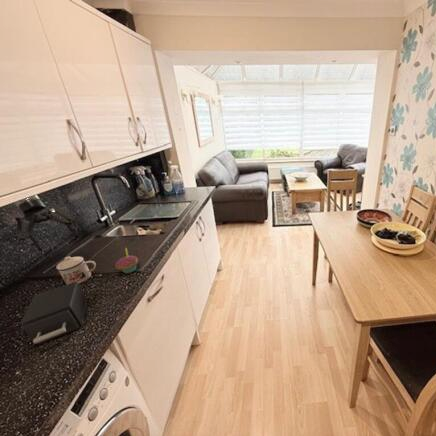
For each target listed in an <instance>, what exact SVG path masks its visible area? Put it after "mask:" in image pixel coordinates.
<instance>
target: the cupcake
mask: <svg viewBox="0 0 436 436" xmlns="http://www.w3.org/2000/svg"><path fill="white" fill-rule="evenodd" d="M124 251H125V256H122V257H121V258H119V259H118V260H117V261H116V262H115V264H114V267H115V269H116V270H118V271H121V272H122V273H124V274H130V273H132V272H134V271H136V270H137V264H138V262H139V259H138V256H136V255H130V254H129V251H128V248H127V247H125V248H124Z"/></svg>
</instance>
